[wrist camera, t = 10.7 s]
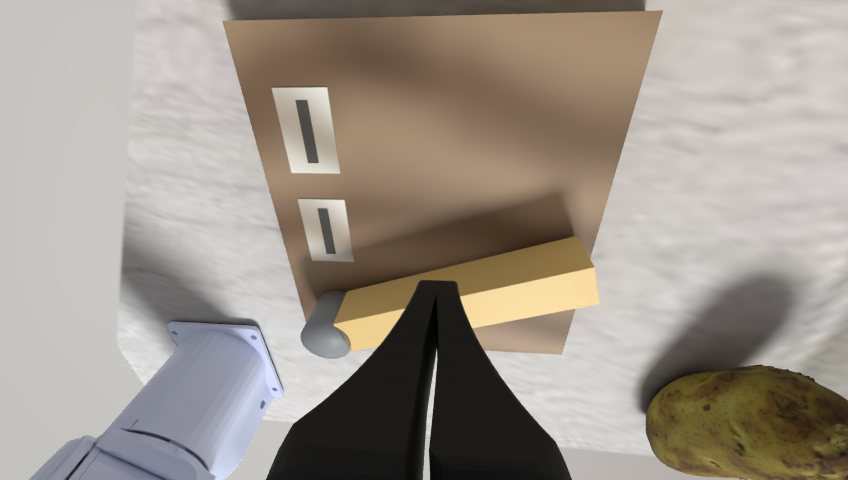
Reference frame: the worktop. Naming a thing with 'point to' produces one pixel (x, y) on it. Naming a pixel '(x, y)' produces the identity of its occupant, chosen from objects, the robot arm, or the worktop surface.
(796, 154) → the worktop surface
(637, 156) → the worktop surface
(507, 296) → the swing bar
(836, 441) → the potato
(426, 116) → the label board
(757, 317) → the worktop surface
